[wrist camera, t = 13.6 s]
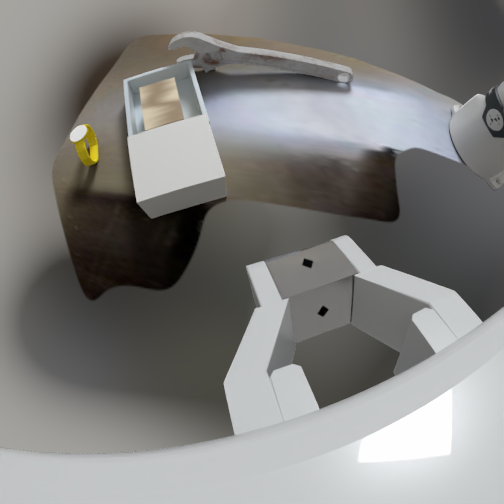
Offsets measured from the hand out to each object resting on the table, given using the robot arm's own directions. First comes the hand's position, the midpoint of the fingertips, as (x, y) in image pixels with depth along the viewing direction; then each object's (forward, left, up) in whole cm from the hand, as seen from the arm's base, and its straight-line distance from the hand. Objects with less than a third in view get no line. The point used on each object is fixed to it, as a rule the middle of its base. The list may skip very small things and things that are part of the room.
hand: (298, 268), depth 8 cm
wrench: (-13, -34, -27) cm, 45 cm away
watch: (+16, -26, -27) cm, 41 cm away
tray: (+4, -29, -27) cm, 39 cm away
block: (+4, -22, -24) cm, 33 cm away
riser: (+4, -17, -27) cm, 32 cm away
